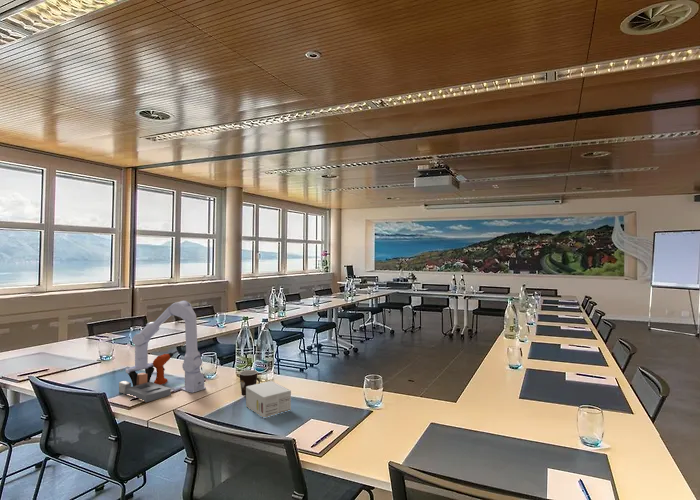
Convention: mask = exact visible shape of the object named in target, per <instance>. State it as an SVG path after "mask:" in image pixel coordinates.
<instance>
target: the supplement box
mask: <svg viewBox="0 0 700 500" xmlns="http://www.w3.org/2000/svg"><path fill="white" fill-rule="evenodd" d="M258 383H259V382H258ZM258 383H256V384H255V385H250V386H247V387H246V396H245V407H246V408H247V407H248V408H249V409H248V408H247V409H248V410H250V409H251V410H253V411H254V412H256V413H257V414H259V415H260V416H262V417H268V416H271V415H275V414H278V413H281V412H285V411H288V410H291V411H292V390H290V389H288V388H287V387H284V386H282V385H280V384H278V383H277V382H275V381H273V380H268V381H264V382H260V383H259V384H258ZM251 410H250V411H251ZM253 411H252V412H253ZM254 412H253V413H254ZM256 413H255V414H256ZM257 414H256V415H257ZM259 415H258V416H259ZM260 416H259V417H260ZM262 417H261V418H262Z"/></svg>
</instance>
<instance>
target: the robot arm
mask: <svg viewBox="0 0 700 500" xmlns="http://www.w3.org/2000/svg"><path fill="white" fill-rule="evenodd" d="M172 316H175V317H178V318H181V319H182V320H183V321H184V327H185V328H184V329H185V330H184V332H185V333H184V334H185V355H184V357H183V363H182V370H183V371H184V387H181V388H180V390H182V391H185V392H187V393H191V394H193V393H196V392H199V391H203V390H205V389H206V387H205V374H204V373H202V371H201V366H202V365H203V359H202V357H201V352H200V351H199V350H198V331H197V330H198V327H197V324H198V323H197V321H198V320H197V314H196V313H195V311H194V308H193V307H192V304H191V303H190V302H189V301H187V300H180V301H176V302H174V303H171V304H170V305H169V306H167V308H166V309H165V310H164V311H163V312H162V313H160V315H159V316H158V317H157V319H155V320H154V321H150V322H147V323H146V324H145V327H143V329H141V330H139V333H135V334H134V336H133V337H132V343H133V344H134V365H133V366H131V367H129V368H125V374H127V375H128V376H129V379H130V381H131V385H132V386H136V385H137V375H138V374H139V373H138V371H144V373H146V374H147V382H151V378H152V375H153V373H154V372H155V367H154V366H153V362H149V363H148V361H149V359H148V357H149V356H148V354H149V353H148V351H149V350H148V349H149V347H148V346H149V342H150V341H151V338H153V336H154V335H155V334H156V333H158V332H159V331H160V326H161V325H162V324H164V323H165V322H166V321H167V320H168V319H169V318H170V317H172Z"/></svg>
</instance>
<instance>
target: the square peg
mask: <svg viewBox="0 0 700 500" xmlns="http://www.w3.org/2000/svg"><path fill="white" fill-rule="evenodd" d="M143 383H147V374H146V373H145V372H140V373H138V375H137V385H140V384H143Z"/></svg>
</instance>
